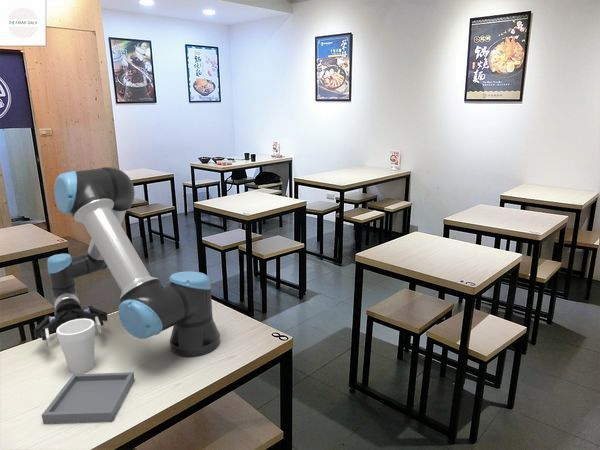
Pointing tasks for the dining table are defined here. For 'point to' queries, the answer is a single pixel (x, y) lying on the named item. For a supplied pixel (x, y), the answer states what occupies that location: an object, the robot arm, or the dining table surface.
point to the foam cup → (78, 344)
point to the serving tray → (89, 398)
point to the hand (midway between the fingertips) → (75, 335)
